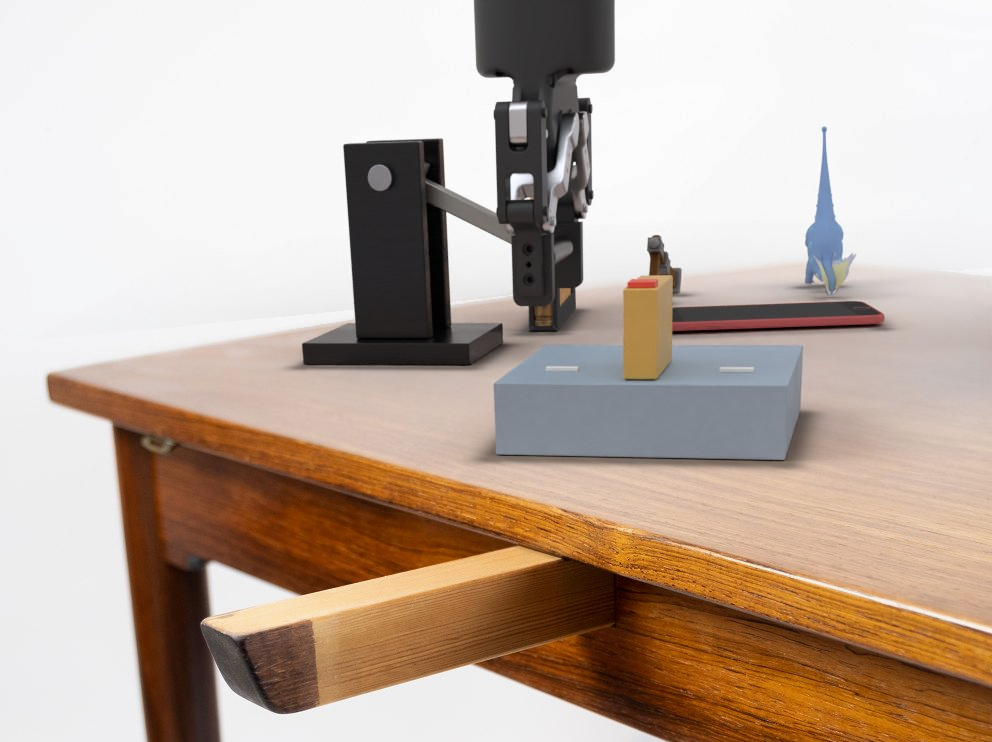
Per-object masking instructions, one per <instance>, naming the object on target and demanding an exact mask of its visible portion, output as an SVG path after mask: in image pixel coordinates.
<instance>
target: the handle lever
mask: <svg viewBox="0 0 992 742" xmlns="http://www.w3.org/2000/svg"><path fill="white" fill-rule="evenodd" d="M424 167H425V177H426V175H427V172H428V170H429V167H430V164H429V163H427V162H425V161H424ZM425 187H426V202H428V203H430V204H432V205H434V206H436V207H438V208H440V209H442V210H444V211H446V213H448V214H450V215H452V216H453V217H455V218H457V219H459V220H461V221H463V222H466V223H468V224H470V225H472V226H474V227H476V228H477V229H480V230H482V231H484V232H486V233H488V234H490V235H492V236H494V237H496V238H498V239H500V240H501V241H504V242H506V243H507V244H510V245H511V236H512V235H515V234H508V233H507V229H506V227H505V224H499V221H498V217H497V215H496V211H493V210H491V209H490V208H487V207H485V206H483V205H481V204H479V203H477V202H475V201H473V200H471V199H469V198H467V197H465V196H463V195H461V194H459V193H457V192H455V191H453V190H451V189H450V188H448V187H446V186H445V187H443V186H441V185H439V184H437V183H435V182H433V181H431V180H429V179H427V178H425ZM572 252H573V245H572V242H571V240H570V239H569V238H568V237H566V236H563V235H558V236H556V237H554V266H556V265H558V264H559V263H561V262H563V261H565V260H567V259H568V258H569V257H570V256H571V254H572Z"/></svg>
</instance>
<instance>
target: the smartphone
mask: <svg viewBox="0 0 992 742" xmlns="http://www.w3.org/2000/svg"><path fill="white" fill-rule="evenodd" d="M884 321H885V314H884V312H882V311H880V310H878V309H877V308H875V307H874V306H872V305H870V304H869V303H866V302H865V301H859V300H840V301H839V300H838V301H812V302H811V301H810V302H787V303H785V302H784V303H783V302H781V303H759V304H757V303H756V304H731V305H730V304H728V305H700V306H676V307H675V306H674V307H673V306H672V332H685V331H686V332H687V331H714V330H716V331H717V330H718V331H719V330H740V329H743V330H745V329H746V330H747V329H772V328H774V329H775V328H800V327H826V326H829V327H830V326H854V325H855V326H857V325H875V324H876V325H877V324H882V323H884Z"/></svg>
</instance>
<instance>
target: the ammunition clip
mask: <svg viewBox="0 0 992 742" xmlns="http://www.w3.org/2000/svg"><path fill="white" fill-rule="evenodd" d="M529 199H534V197H531V198H529ZM576 297H577V296H576V288H555V298H554V300H553V302H552V303H550V304H549V305H547V306H527V308H528V332H556V331H559V330H560V329H561V327H562V326H563V325H564V324H565V322H566V321H567V320H568V319H569V318H570V316H571V315H572V314H573V313H574V312H575V310H576V309H577V301H576V299H577V298H576Z"/></svg>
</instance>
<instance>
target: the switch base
mask: <svg viewBox="0 0 992 742" xmlns="http://www.w3.org/2000/svg"><path fill="white" fill-rule="evenodd" d="M803 356H804V345H803V344H672V360H671V362H670V363H669V364H668V366H667V367H666V368H665V369H664V371H663V372H662V373H661V374H660V376H659V377H658V378H657V379H656V380H652V379H624V378H623V344H544V345H543V346H542V347H540V348H539V349H537V350H536V351H535V352H534V353H533V354H531V355H530V356H528V357H527V358H526V359H524V360H523V361H522V362H520V363H519V364H518V365H516V366H515V367H513V368H512V369H511V370H509V371H508V372H507V373H505V374H504V375H502V377H500V378H499V379H497V380H496V381H495V382H494V383H493V404H494V409H493V410H494V436H495V454H496V455H502V456H505V455H506V456H508V455H509V456H550V457H551V456H555V457H601V458H602V457H603V458H604V457H605V458H607V457H608V458H609V457H611V458H651V459H652V458H654V459H655V458H658V459H706V460H707V459H709V460H756V461H757V460H761V461H762V460H763V461H785V460H786V457H787V454H788V451H789V448H790V445H791V442H792V439H793V435H794V433H795V429H796V426H797V423H798V420H799V416H800V414H801V407H802V405H801V404H802V385H803V383H802V382H803V362H804V361H803V360H804V357H803Z"/></svg>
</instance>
